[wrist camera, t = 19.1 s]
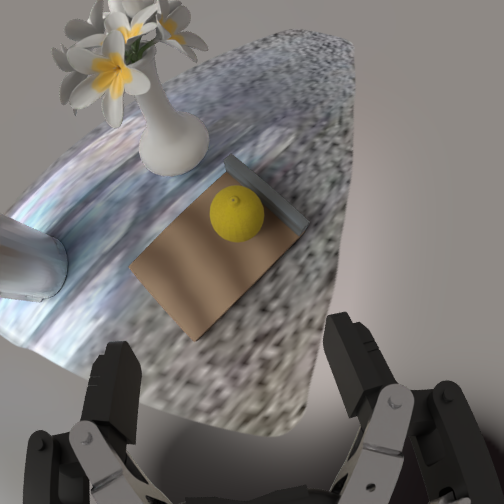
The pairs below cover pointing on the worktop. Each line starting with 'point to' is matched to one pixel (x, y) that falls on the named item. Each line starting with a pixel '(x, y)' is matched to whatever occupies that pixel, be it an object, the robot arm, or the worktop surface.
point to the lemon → (236, 213)
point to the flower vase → (134, 76)
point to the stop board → (215, 254)
